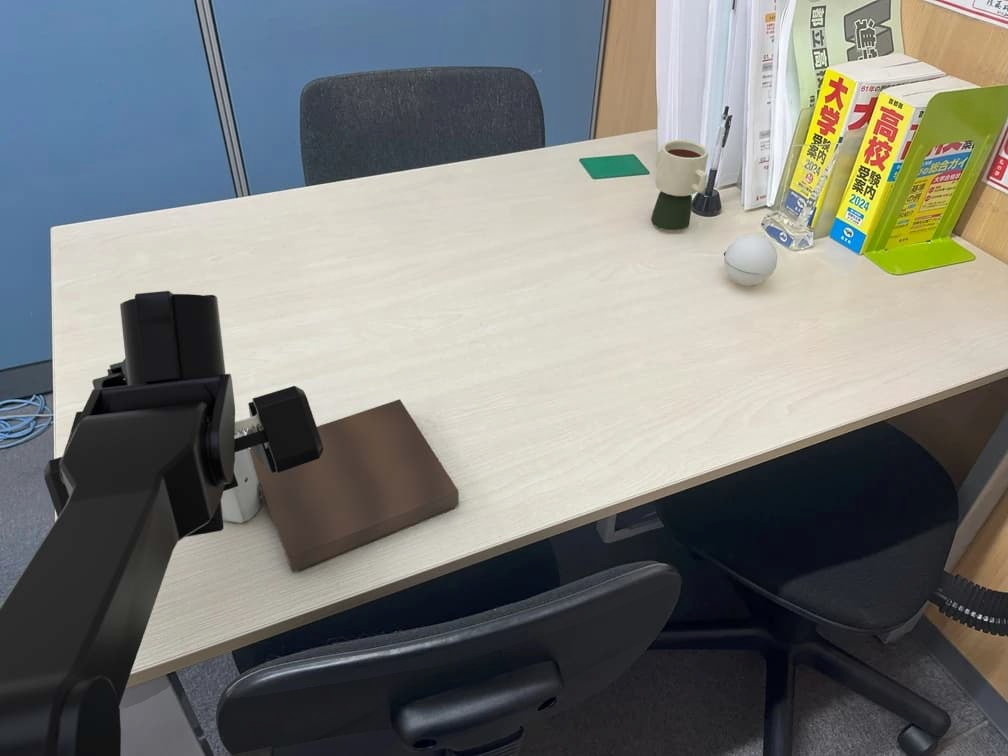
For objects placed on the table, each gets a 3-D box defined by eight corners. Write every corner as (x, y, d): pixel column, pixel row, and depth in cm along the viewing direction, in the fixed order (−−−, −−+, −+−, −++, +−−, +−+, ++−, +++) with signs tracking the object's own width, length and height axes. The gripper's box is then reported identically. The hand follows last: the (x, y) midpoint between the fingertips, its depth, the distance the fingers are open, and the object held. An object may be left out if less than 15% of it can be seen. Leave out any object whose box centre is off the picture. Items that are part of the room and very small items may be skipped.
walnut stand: (292, 574, 65) (288, 558, 64) (251, 465, 75) (246, 449, 73) (459, 506, 72) (458, 490, 70) (401, 414, 81) (399, 398, 80)
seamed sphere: (749, 264, 109) (762, 221, 104) (779, 290, 103) (795, 246, 99) (693, 275, 106) (704, 231, 101) (722, 302, 100) (734, 258, 96)
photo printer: (270, 496, 72) (244, 408, 64) (248, 529, 69) (218, 441, 61) (180, 474, 74) (144, 385, 66) (155, 505, 71) (114, 416, 62)
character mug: (708, 234, 115) (727, 158, 106) (674, 245, 112) (691, 167, 104) (664, 206, 122) (679, 132, 113) (631, 215, 119) (644, 140, 110)
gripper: (288, 308, 51) (274, 342, 65) (-11, 386, 44) (47, 406, 58) (337, 455, 51) (313, 457, 66) (47, 557, 44) (91, 534, 58)
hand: (197, 460), depth 62 cm, fingers open, 9 cm apart
